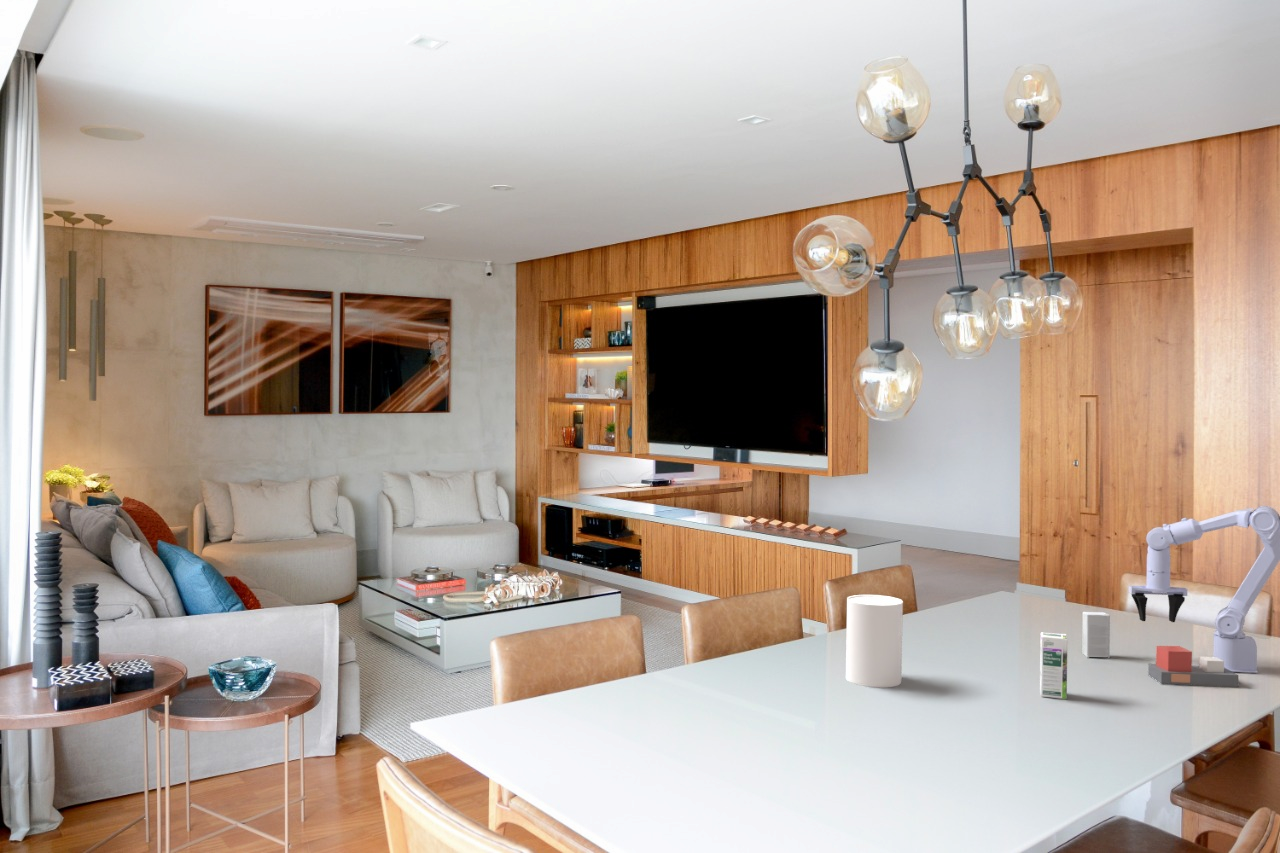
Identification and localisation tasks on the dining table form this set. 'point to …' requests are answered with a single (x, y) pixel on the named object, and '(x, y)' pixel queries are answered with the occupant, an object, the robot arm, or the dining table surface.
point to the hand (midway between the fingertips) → (1157, 620)
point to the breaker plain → (1212, 664)
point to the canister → (874, 640)
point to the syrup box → (1053, 665)
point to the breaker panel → (1194, 677)
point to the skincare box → (1096, 634)
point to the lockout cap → (1174, 658)
